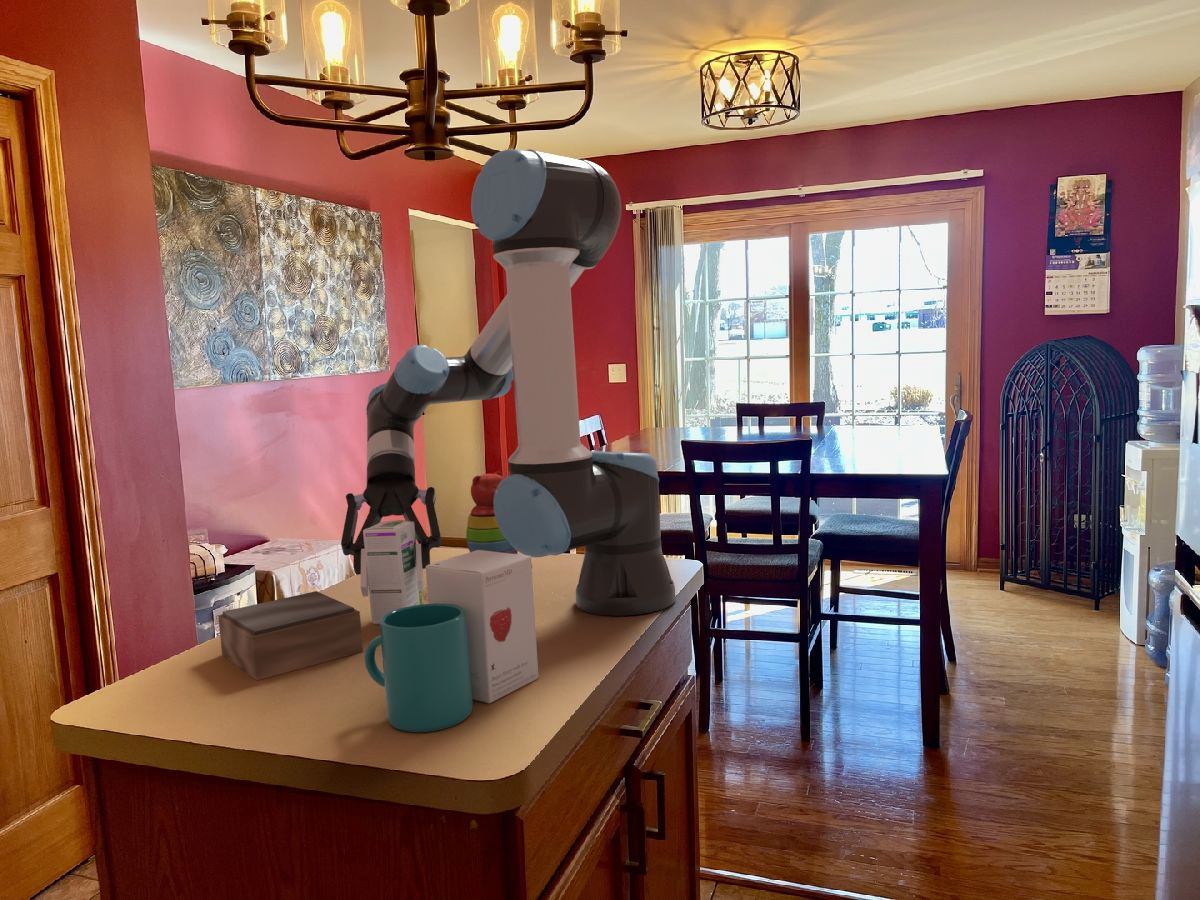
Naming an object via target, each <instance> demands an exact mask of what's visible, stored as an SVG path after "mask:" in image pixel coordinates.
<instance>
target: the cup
mask: <svg viewBox="0 0 1200 900" xmlns="http://www.w3.org/2000/svg"><path fill="white" fill-rule="evenodd" d="M378 625H379V633H380V634H379V635H378V636H376V637H375V638H373V639H372V640H371V641H370V642H369V643H368V645H367V647H366V649H365V651H364V665H365V669H366V671H367V673H368V675H369V676H370V678H371V679H372V680H373V681H374V683H376V684H377V685H379V686H381V687H384V693H385V695H384V696H385V704H386V715H387V720H388V723H389V724H390V725H391V726H392V727H394V728H396V729H398V730H400V731H403V732H404V731H405V732H408V733H409V732H410V733H429V732H436V731H441V730H444V729H449V728H450V727H453V726H456V725H458V724H460V723H462V722H463V721H465V720H466V719H467V718H468V717H469V716H470V715H471V713H472V711H473V706H474V704H473V701H474V699H472V686H471V673H470V660H469V646H468V633H467V620H466V611H465V609H464V608H462V607H460V606H457V605H453V604H443V603H433V604H428V603H422V604H421V605H414V606H409V607H404V608H400V609H397V610H394V611H391V612H389V613H387V614H385V615H384V616H383V617H382V618H381V619H380V621H379V624H378ZM379 647H381V658H382V667H383V668H382V670H383V672H382V671H381V670H380V667H379V666H378V664H377V660H376V652H377V649H378V648H379Z"/></svg>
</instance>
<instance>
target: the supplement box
mask: <svg viewBox="0 0 1200 900" xmlns="http://www.w3.org/2000/svg"><path fill="white" fill-rule="evenodd" d="M425 575H426V590H427V604H433V603H443V604H453V605H457V606H460V607H462V608H464V609H465V611H466V620H467V633H468V646H469V660H470V673H471V686H472V700H473V701H474V700H475V701H479V702H483V703H486V704H492V703H494V702H496V701H498V700H499V699H501V698H503V697H505V696H507V695H509V694H511V693H512V692H515V691H517V690H518V689H520V688H523V687H524V686H526V685H528V684H530V683H532V682H534V681H536V680H537V679H539V664H538V663H539V662H538V649H537V648H538V647H537V634H536V633H537V630H536V615H535V600H534V597H535V596H534V584H533V563H532V557H531V556H528V555H524V554H522V553H520V554H519V553H517V554H509V553H501V552H493V551H485V550H476V551H473V552H470V551H469V552H467V553H464V554H459V555H455V556H451V557H449V558H447V559H443V560H439V561H436V562H434V563H430V565H427V566H426V569H425Z"/></svg>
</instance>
